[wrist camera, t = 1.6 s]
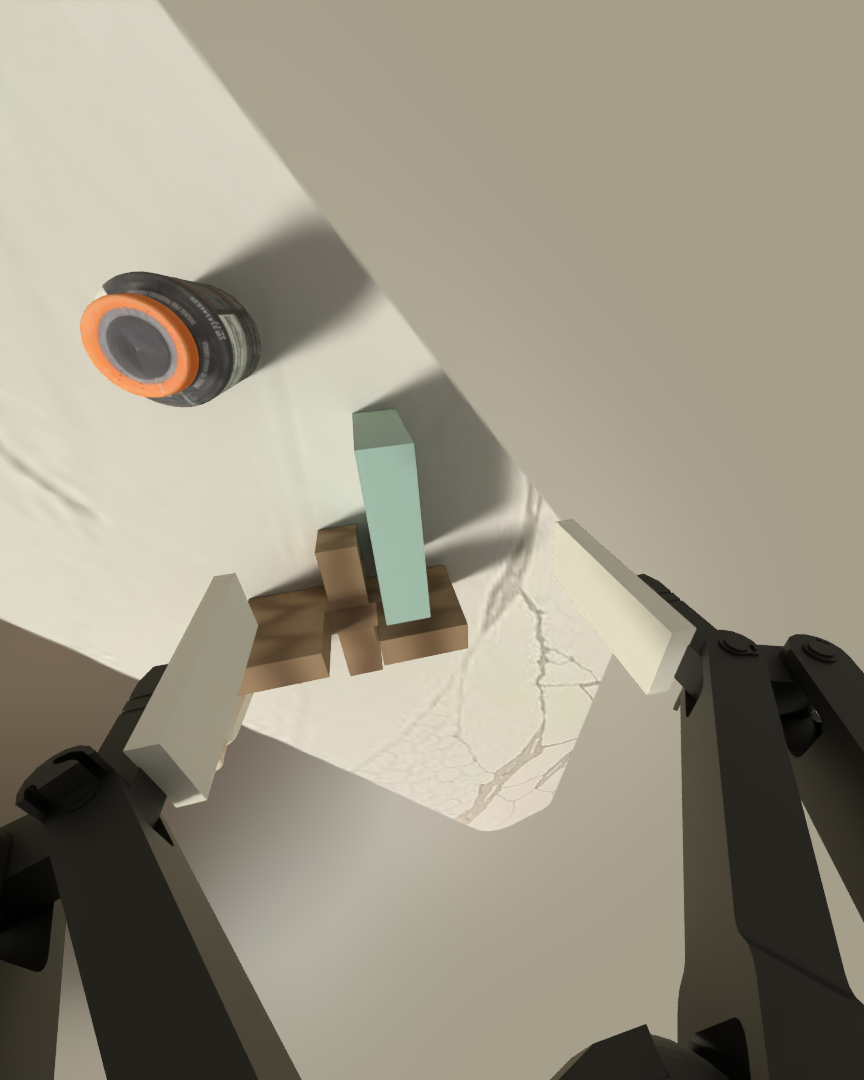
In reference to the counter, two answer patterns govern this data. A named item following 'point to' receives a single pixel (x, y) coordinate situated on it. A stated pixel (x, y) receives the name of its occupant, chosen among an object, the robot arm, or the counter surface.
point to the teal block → (392, 512)
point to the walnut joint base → (345, 621)
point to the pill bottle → (169, 338)
